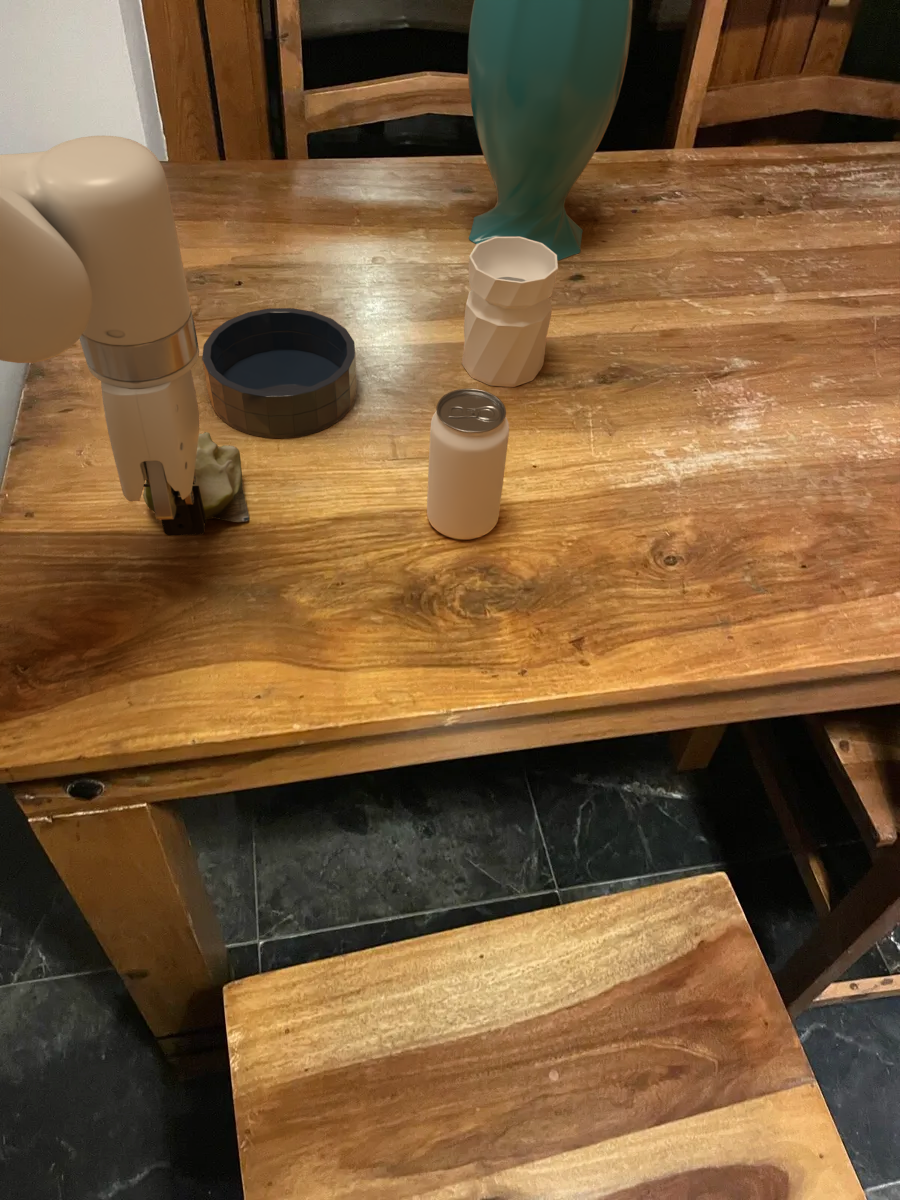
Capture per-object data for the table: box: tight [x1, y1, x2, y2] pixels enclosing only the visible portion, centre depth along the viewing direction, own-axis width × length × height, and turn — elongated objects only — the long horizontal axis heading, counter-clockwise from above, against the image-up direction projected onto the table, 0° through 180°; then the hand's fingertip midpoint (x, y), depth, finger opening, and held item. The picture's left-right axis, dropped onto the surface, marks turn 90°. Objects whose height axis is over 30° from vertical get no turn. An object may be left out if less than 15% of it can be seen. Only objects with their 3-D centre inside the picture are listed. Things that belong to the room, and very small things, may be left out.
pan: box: [201, 307, 357, 439], centre depth 93 cm, size 15×15×5 cm
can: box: [426, 388, 510, 541], centre depth 79 cm, size 6×6×12 cm
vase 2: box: [461, 237, 559, 388], centre depth 95 cm, size 9×9×12 cm
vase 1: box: [467, 0, 633, 262], centre depth 106 cm, size 17×17×30 cm
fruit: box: [142, 431, 250, 523], centre depth 81 cm, size 9×9×8 cm
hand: (186, 528), depth 77 cm, fingers closed
